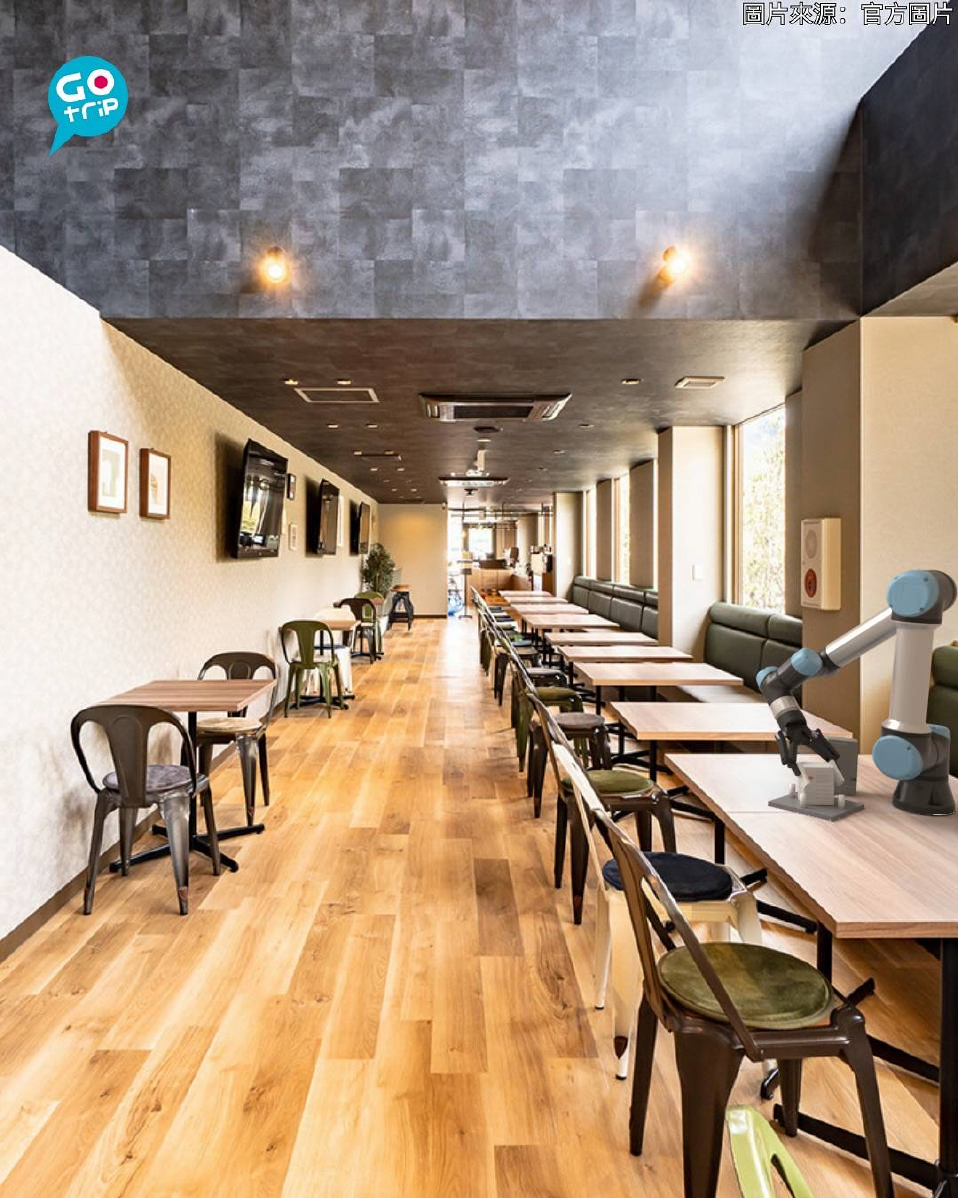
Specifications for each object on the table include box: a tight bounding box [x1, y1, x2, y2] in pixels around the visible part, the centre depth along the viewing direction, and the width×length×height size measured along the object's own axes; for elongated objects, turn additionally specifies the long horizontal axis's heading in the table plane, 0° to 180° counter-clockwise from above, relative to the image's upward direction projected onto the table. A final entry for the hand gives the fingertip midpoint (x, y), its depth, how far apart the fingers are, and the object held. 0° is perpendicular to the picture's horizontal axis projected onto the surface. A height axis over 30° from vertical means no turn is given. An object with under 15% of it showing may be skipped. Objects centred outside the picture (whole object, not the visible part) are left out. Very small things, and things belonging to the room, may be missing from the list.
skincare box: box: [824, 735, 860, 797], centre depth 241 cm, size 8×7×16 cm
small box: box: [797, 761, 835, 805], centre depth 226 cm, size 8×6×10 cm
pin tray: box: [767, 783, 866, 822], centre depth 226 cm, size 18×18×5 cm
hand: (824, 784), depth 223 cm, fingers open, 10 cm apart
